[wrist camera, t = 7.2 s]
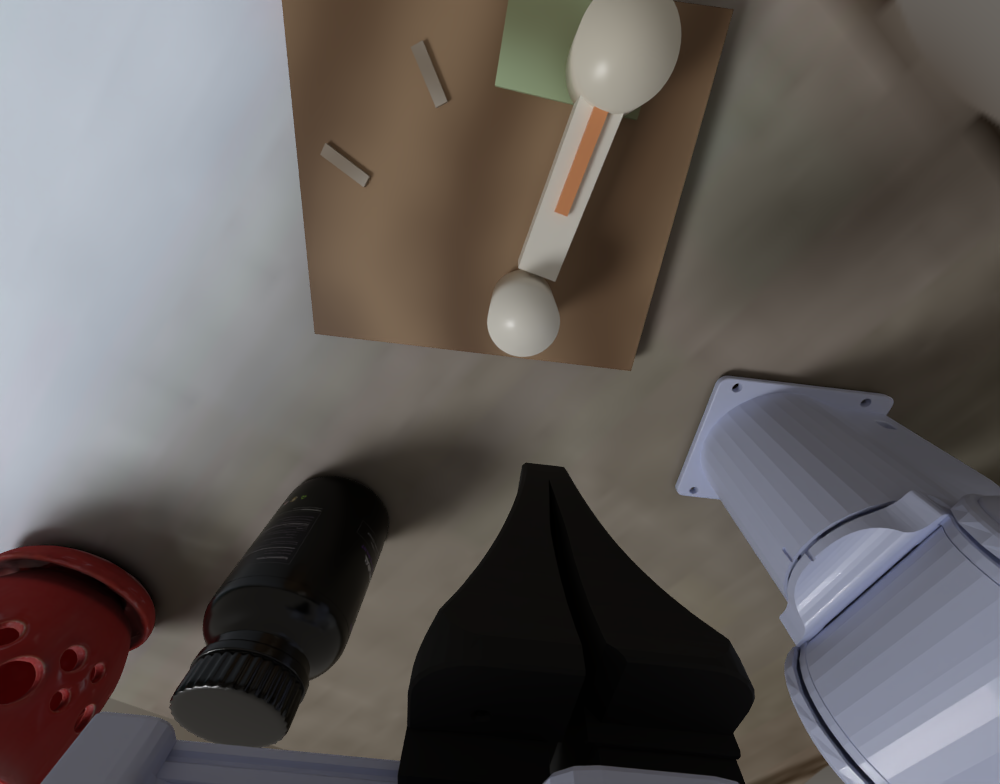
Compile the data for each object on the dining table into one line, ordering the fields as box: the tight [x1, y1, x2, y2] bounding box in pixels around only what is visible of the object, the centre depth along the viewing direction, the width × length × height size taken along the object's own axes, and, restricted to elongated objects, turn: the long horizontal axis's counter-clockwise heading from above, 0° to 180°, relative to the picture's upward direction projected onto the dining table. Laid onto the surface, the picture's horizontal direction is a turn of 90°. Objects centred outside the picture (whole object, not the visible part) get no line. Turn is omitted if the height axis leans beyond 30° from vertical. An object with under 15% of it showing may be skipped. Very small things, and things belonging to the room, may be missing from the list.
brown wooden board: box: [282, 0, 734, 371], centre depth 18 cm, size 16×14×1 cm
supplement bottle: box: [169, 476, 389, 748], centre depth 22 cm, size 7×7×12 cm
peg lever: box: [487, 0, 681, 357], centre depth 15 cm, size 12×3×3 cm, turn 161°
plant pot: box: [0, 545, 155, 784], centre depth 26 cm, size 13×13×12 cm
